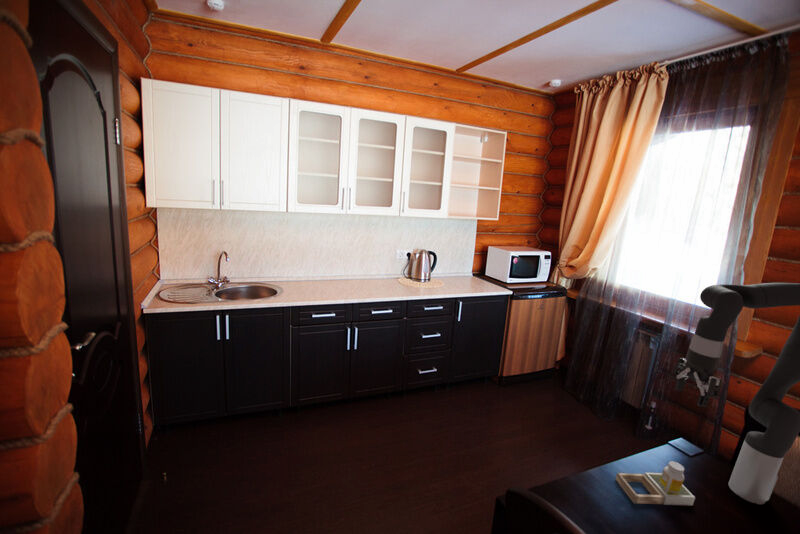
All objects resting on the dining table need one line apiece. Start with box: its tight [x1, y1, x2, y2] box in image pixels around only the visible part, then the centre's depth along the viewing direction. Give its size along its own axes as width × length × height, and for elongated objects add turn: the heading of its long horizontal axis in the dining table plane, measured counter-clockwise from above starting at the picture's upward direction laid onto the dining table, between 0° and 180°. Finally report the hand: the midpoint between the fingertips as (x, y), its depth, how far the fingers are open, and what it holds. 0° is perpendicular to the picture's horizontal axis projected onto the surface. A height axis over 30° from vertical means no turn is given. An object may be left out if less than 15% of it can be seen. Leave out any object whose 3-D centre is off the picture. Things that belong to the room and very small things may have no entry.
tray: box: [643, 472, 696, 506], centre depth 119 cm, size 9×9×3 cm
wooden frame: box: [615, 472, 664, 505], centre depth 118 cm, size 9×9×2 cm
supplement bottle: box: [658, 460, 685, 495], centre depth 118 cm, size 5×5×10 cm
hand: (689, 397), depth 118 cm, fingers open, 8 cm apart
